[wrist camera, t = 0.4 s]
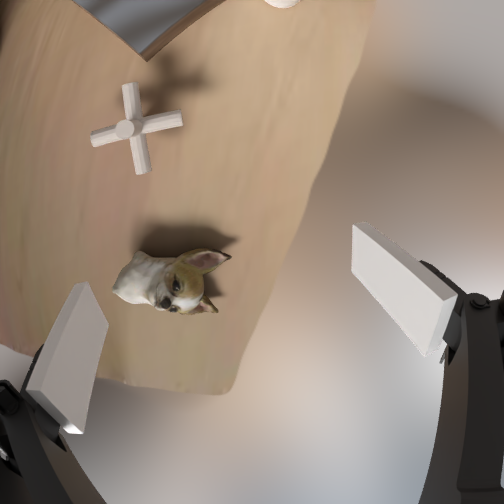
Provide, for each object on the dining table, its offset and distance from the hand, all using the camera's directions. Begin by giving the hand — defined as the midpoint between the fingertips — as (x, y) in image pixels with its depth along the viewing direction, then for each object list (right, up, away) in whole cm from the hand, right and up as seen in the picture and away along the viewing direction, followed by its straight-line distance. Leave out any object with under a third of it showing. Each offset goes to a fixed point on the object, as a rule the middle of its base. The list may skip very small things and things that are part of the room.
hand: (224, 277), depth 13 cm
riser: (-11, +33, +9) cm, 37 cm away
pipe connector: (-12, +16, +18) cm, 27 cm away
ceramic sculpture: (-10, -1, +27) cm, 29 cm away
